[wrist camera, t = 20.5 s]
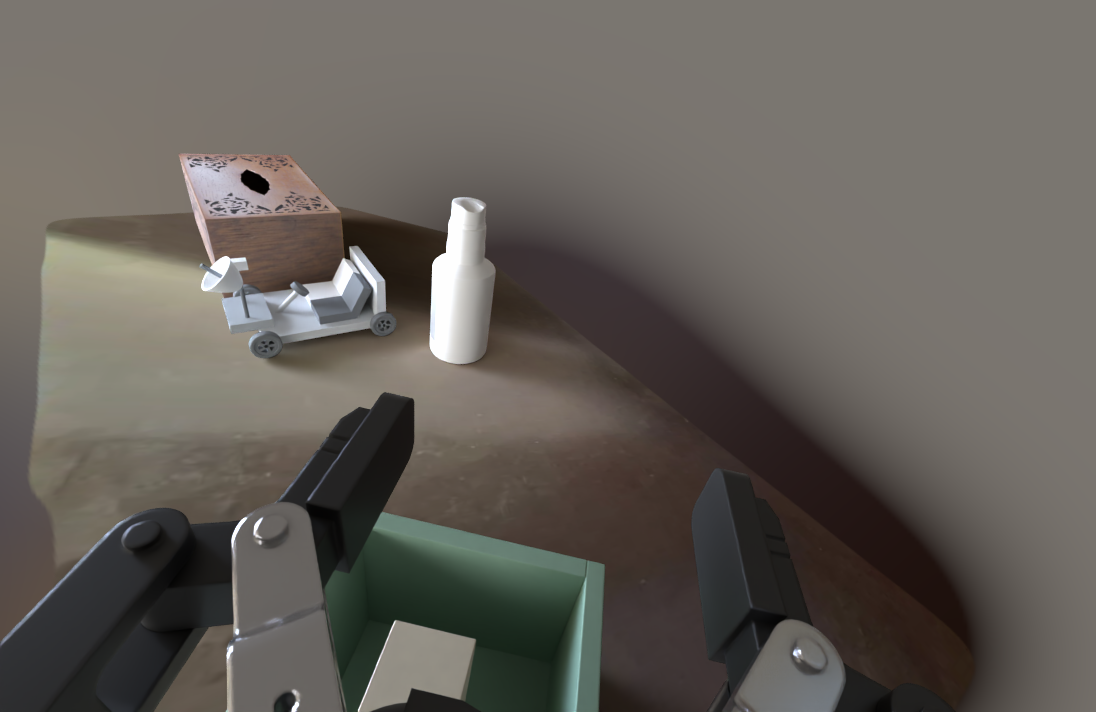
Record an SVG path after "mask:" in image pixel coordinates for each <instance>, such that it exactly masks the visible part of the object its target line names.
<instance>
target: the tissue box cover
mask: <svg viewBox="0 0 1096 712" xmlns="http://www.w3.org/2000/svg"><path fill="white" fill-rule="evenodd" d="M179 158H180V161H181V165H182V169H183V173H184V177H185V180H186V185H187V188H188V192H189V196H190V200H191V204H192V207H193V211H194V215H195V219H196V223H197V225H198V228H199V231H200V233H201V236H202V239H203V242H204V244H205V247H206V250H207V253H208V255H209V258H210V261H211V263H212V265H213V264H214V263H215V262H216V261H218V260H219V259H221V258H223V257H229V259H233V258H246V261H247V265H248V270H242V271H240V275H241V277H242V280H243V285H245V284H250V285H254V286H256V287H258V288H259V289H260V290H261V292H262V293H266V292H274V291H282V290H290V289H292V288H291V286H290V285H291V284H292V283H293V282H294V281H297V282H299V283H300V284H302V285H303V284H312V283H320V282H328V281H332V280H333V278H334V276H335V274H336V272H337V270H338V268H339V265H340V263H341V261H342V259H343V258H344V245H343V232H342V220H341V212H340V211H339V210H338V209H337V208H336V207H335V206H334V204H333V203H332V202H331V201H330V200H329V199H328V198H327V197H326V196H325V194H324V193H323V192H322V191H321V190H320V189H319V188H318V187H317V185H316V184H315V183H314V182H313V181H312V180H311V179H310V178H309V176H308V175H307V174H306V173H305V172H304V171H303V170H302V169H301V168H300V166H299V165H298V164H297V163H296V162H295V161H294V160H293V159H292V157H291V156H290V155H238V154H237V155H236V154H235V155H233V154H232V155H231V154H179ZM233 293H234V292H230V293H222V294H223V296H224V298H230V297H233ZM245 294H246V293H245ZM252 294H253V293H252Z"/></svg>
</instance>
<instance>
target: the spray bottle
mask: <svg viewBox="0 0 1096 712" xmlns="http://www.w3.org/2000/svg"><path fill="white" fill-rule="evenodd" d="M485 215H486V204H485V203H484V202H482V201H480V200H477V199H474V198H466V197H465V198H464V197H461V198H455V199H453V201H452V214H451V218H450V221H449V227H448V240H447V249H446V253H445V254H442V255H440V256H439V257H437V258H436V259H435V261H434V262H433V265H432V293H431V323H430V349H431V351H432V352H433V354H434V355H435V356H436V357H438V358H439V359H440V360H443V361H446V362H448V363H454V364H468V363H472V362H475V361H477V360H479V359H481V358H482V356H483V355H484V354H485V352H486V348H487V340H488V332H489V323H490V315H491V306H492V298H493V290H494V281H495V273H496V271H495V267H494V265H493V264H492V263H491V262H490V261H489V260H488V259H486V258H485V257H484V256H485V237H486V228H487V226H486V224H485V223H486V221H485Z"/></svg>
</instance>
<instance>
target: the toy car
mask: <svg viewBox="0 0 1096 712" xmlns="http://www.w3.org/2000/svg"><path fill="white" fill-rule="evenodd" d="M349 248H350V260H348V259H345V258H343V259H342V261H341V263H340V265H339V268H338V270H337V272H336V274H335V276H334V278H333V280H332V281H328V282H320V283H312V284H303V285H302V284H300V283H299V282H297V281H294V282H293V283H292V284H291V285H290V286H291V288H292V289H290V290H282V291H274V292H266V293H262V292H261V290H260V289H259V288H258V287H256V286H254V285H250V284H245V285H243V280H242V277H241V275H240V271H242V270H248V265H247V261H246V258H233V259H229V257H223V258H221V259H219V260H218V261H216V262H215V263H214V264H213V265H212V267H211V268H209V267H207V266H206V265H204V264H201V265H200V267H201V268H202V269H204V270H206V271H208V272H207V273H206V275H205V277H204V279H203V281H202V289H203V290H204V291H209V292H219V293H230V292H234V293H233V297H230V298H222V303H223V307H224V310H225V313H226V317H227V320H228V324H229V327H230V331H231V334H234V333H240V332H247V331H253V330H259V332H258V333H256V334H255V335H253V336H252V337H251V339H250V341H249V348H250V351H251V352H252V354H254V355H255V356H257V357H259V358H270V357H273V356H275V355H277V354H278V353H279V352H280V351H281V349H282V346H283V344H284V343H290V342H295V341H301V340H306V339H312V338H317V337H323V336H329V335H334V334H340V333H345V332H351V331H357V330H362V329H368V328H371V330H372V331H373V332H374V333H375V334H376V335H378V336H386V335H388V334H390V333H392V332H393V331H394V329H395V328H396V319H395V318H394V316H393V315H392V314H391V313H389V312H386V293H385V280H384V279H383V278H382V276H381V275H380V274H379V273H378V271H377V270H376V269H375V267H374V266H373V265H372V264H371V262H370V261H369V260H368V259H367V257H366V256H365V255H364V253H363V252H362V251H361V250H360V248H359V247H358V246H349ZM245 293H246V294H245ZM252 293H253V294H252ZM258 345H260V346H258Z"/></svg>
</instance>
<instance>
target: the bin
mask: <svg viewBox="0 0 1096 712" xmlns="http://www.w3.org/2000/svg"><path fill="white" fill-rule="evenodd" d="M604 578H605V565H604V564H600V563H596V562H591V561H586V560H584V559H579V558H575V557H571V556H567V555H562V554H558V553H554V552H550V551H545V550H541V549H537V548H533V547H528V546H524V545H520V544H516V543H511V542H507V541H503V540H499V539H494V538H490V537H486V536H482V535H477V534H473V533H469V532H465V531H460V530H456V529H452V528H448V527H443V526H439V525H435V524H431V523H426V522H422V521H418V520H414V519H409V518H405V517H401V516H397V515H392V514H388V513H384V512H381V514H380V516H379V518H378V520H377V522H376V524H375V526H374V528H373V530H372V531H371V533H370V535H369V537H368V539H367V541H366V543H365V545H364V547H363V548H362V550H361V552H360V554H359V556H358V558H357V560H356V562H355V564H354V566H353V567H352V569H351V571H350V573H345V572H340V571H336V570H334V572H333V574H332V576H331V578H330V579H329V581H328V583H327V585H326V586H325V593H326V599H327V604H328V610H329V616H330V622H331V627H332V633H333V639H334V645H335V650H336V656H337V662H338V667H339V673H340V678H341V683H342V689H343V694H344V700H345V705H346V711H347V712H358V710H359V707H360V705H361V702H362V700H363V697H364V695H365V692H366V690H367V687H368V685H369V683H370V680H371V678H372V675H373V673H374V670H375V668H376V665H377V663H378V660H379V658H380V655H381V653H382V651H383V648H384V646H385V643H386V641H387V638H388V636H389V633H390V631H391V628H392V626H393V624H394V621H395V620H397V621H401V622H406V623H410V624H414V625H418V626H422V627H426V628H431V629H435V630H439V631H443V632H447V633H451V634H456V635H460V636H464V637H468V638H472V639H476V645H475V650H474V656H473V661H472V667H471V672H470V678H469V683H468V689H467V694H466V699H465V702H466V703H468V704H469V705H471V706H473V707H474V708H476V709H478V710H479V711H481V712H599V693H600V670H601V647H602V624H603V601H604ZM226 712H228V709H227V711H226Z"/></svg>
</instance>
